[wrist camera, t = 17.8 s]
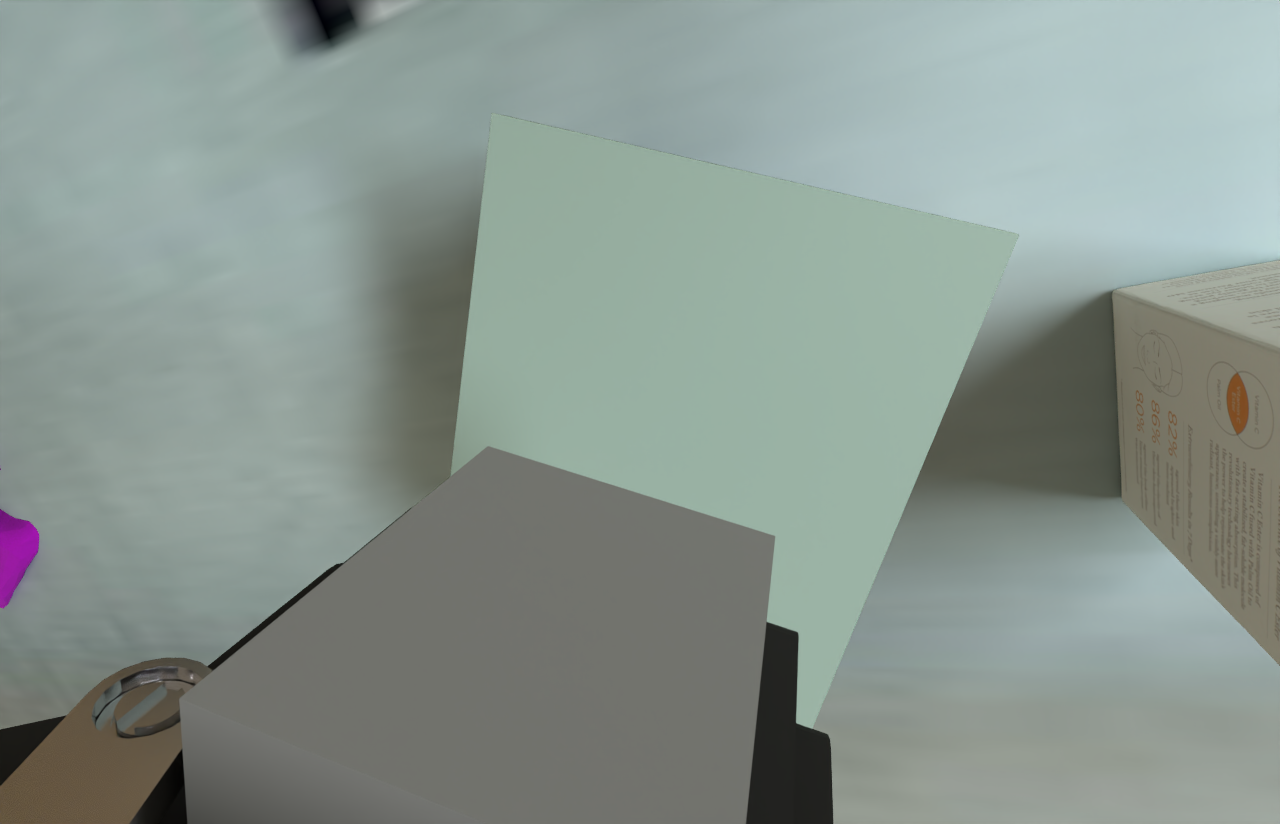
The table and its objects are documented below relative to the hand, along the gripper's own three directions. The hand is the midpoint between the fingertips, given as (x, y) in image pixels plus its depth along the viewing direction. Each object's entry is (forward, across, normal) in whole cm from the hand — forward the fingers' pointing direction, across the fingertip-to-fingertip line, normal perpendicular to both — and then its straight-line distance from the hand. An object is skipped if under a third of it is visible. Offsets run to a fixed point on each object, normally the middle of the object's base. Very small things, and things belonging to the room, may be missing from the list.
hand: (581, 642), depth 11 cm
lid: (+8, 0, 0) cm, 8 cm away
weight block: (+1, 0, 0) cm, 1 cm away
